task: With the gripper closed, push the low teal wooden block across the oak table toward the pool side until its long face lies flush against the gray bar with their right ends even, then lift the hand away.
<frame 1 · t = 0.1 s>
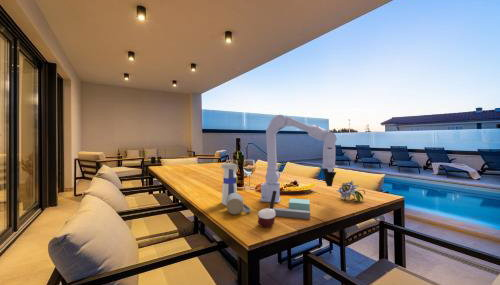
hand: (328, 184, 108), 10 cm above the table, tool pointing down, fingers open, 7 cm apart
water bottle: (229, 203, 111), on the table
block: (299, 209, 102), on the table
ceramic mug: (237, 212, 97), on the table
cocoa: (267, 225, 83), on the table
passion flower: (350, 199, 119), on the table
gray bar: (291, 216, 92), on the table
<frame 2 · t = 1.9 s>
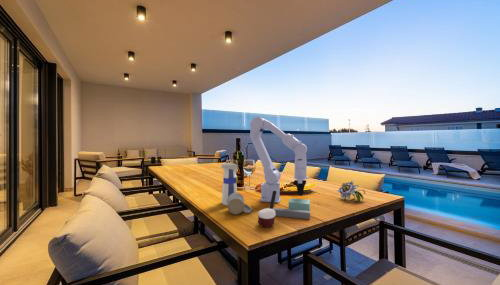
hand: (300, 195, 110), 4 cm above the table, tool pointing down, fingers closed
nothing on the table moved.
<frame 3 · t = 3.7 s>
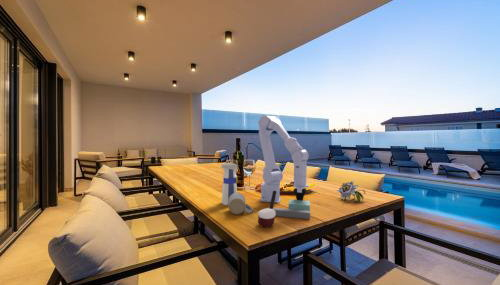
hand: (299, 204, 104), 1 cm above the table, tool pointing down, fingers closed
block: (299, 211, 99), on the table
everything else where it was.
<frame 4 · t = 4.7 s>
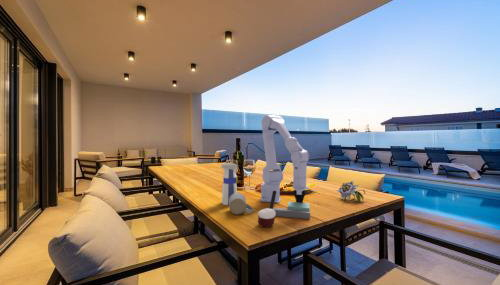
hand: (299, 206, 101), 1 cm above the table, tool pointing down, fingers closed
block: (298, 213, 96), on the table, touching gray bar, gripper
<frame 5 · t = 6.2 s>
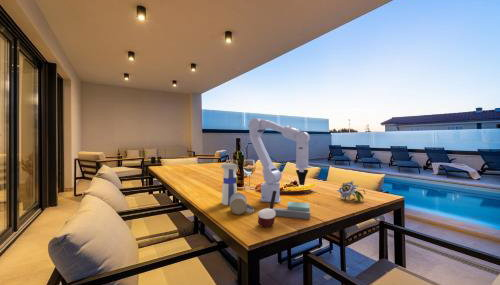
hand: (301, 184, 107), 10 cm above the table, tool pointing down, fingers closed
block: (298, 213, 96), on the table
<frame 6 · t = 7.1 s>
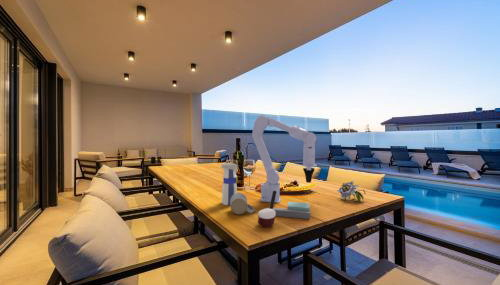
hand: (308, 182, 113), 10 cm above the table, tool pointing down, fingers closed
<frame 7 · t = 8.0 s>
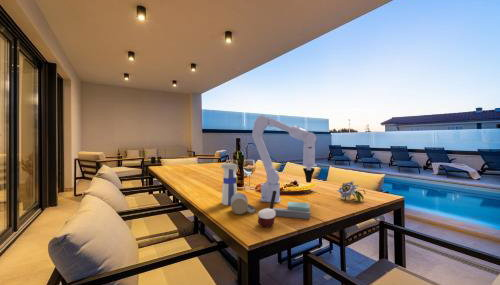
hand: (308, 182, 113), 10 cm above the table, tool pointing down, fingers closed
at the end: block 0.2 cm from the target spot on the table beside the gray bar, on the table; block tilted 0°; block moved 5.7 cm from its start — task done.
